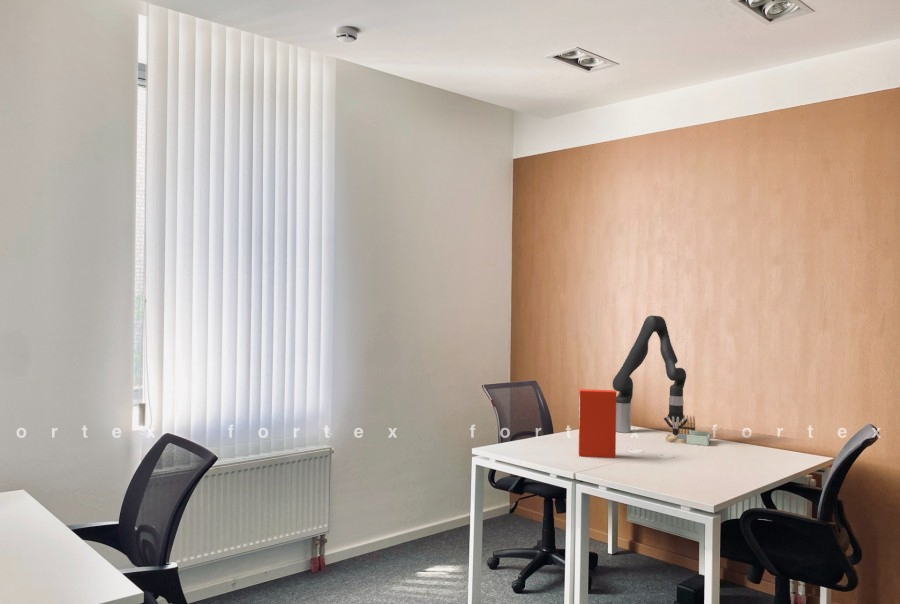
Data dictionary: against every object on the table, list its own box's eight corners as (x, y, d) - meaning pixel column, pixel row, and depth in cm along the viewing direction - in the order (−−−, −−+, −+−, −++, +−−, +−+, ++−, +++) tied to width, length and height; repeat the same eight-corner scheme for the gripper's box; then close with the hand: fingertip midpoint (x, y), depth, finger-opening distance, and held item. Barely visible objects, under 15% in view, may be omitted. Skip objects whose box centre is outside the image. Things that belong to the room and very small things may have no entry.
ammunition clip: (695, 436, 385) (695, 415, 385) (695, 436, 383) (695, 415, 383) (676, 434, 389) (676, 414, 389) (675, 435, 387) (675, 414, 388)
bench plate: (665, 441, 365) (665, 438, 365) (668, 437, 378) (668, 434, 378) (686, 443, 360) (686, 440, 360) (689, 439, 373) (689, 435, 373)
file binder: (615, 458, 320) (616, 392, 321) (579, 456, 323) (580, 390, 324) (614, 454, 328) (614, 390, 329) (578, 453, 331) (579, 389, 332)
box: (686, 444, 359) (686, 434, 360) (689, 439, 374) (689, 430, 374) (708, 446, 355) (708, 436, 355) (710, 441, 369) (710, 432, 369)
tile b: (677, 438, 363) (677, 434, 363) (678, 437, 368) (678, 432, 368) (689, 439, 361) (689, 435, 361) (690, 438, 366) (690, 433, 366)
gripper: (662, 403, 366) (662, 435, 365) (688, 405, 360) (687, 437, 360) (664, 402, 372) (663, 433, 372) (689, 404, 367) (688, 435, 367)
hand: (675, 435), depth 366 cm, fingers closed
